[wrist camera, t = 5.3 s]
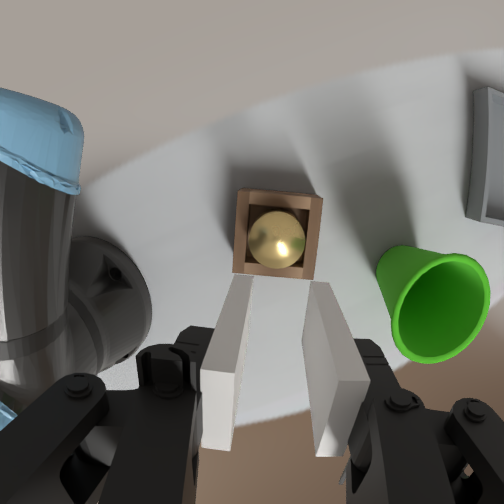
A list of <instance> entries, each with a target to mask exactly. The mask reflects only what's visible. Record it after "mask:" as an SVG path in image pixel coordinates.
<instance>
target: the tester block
mask: <svg viewBox="0 0 504 504" xmlns="http://www.w3.org/2000/svg"><path fill="white" fill-rule="evenodd" d="M322 204H323V198H321V197H319V196H318V195H314V194H304V193H294V192H284V191H273V190H261V189H249V188H242V189H240V190H238V193H237V208H236V222H235V238H234V253H233V269H232V273H241V274H252V275H263V276H274V277H285V278H297V279H308V280H313V278H314V270H315V263H316V255H317V247H318V239H319V231H320V222H321V214H322ZM275 208H276V209H284V210H287V211H289V212H290V213H292V214H293V215H294V216H295V217H296V218H297V219H298V221H299V223H300V225H301V227H302V229H303V231H304V235H305V247H304V251H303V253H302V255H301V256H300V258H299V259H298V260H297V261H296V262H295V263H293V264H292V265H290V266H288V267H285V268H279V269H274V268H269V267H266V266H264V265H262V264H260V263H259V262H258V261H257V260H256V259H255V258H254V257H253V255H252V253H251V251H250V248H249V234H250V231H251V228H252V226H253V223H254V221H255V220H256V218H257V217H258V216H259V215H260V214H261V213H263V212H265V211H267V210H269V209H275Z"/></svg>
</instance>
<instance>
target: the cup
mask: <svg viewBox="0 0 504 504" xmlns="http://www.w3.org/2000/svg"><path fill="white" fill-rule="evenodd" d="M376 277H377V281H378V284H379V287H380V290H381V292H382V295H383V298H384V301H385V303H386V306H387V309H388V312H389V315H390V318H391V331H392V337H393V340H394V342H395V345H396V347H397V348H398V349H399V351H400V352H401V353H402V355H404V356H405V357H407V358H408V359H410V360H412V361H416V362H419V363H437V362H441V361H445V360H447V359H449V358H451V357H453V356H455V355H457V354H458V353H459V352H461V351H462V350H463V349H465V348H466V347H467V346H468V345H469V344H470V343H471V342H472V341H473V339H474V338H475V337H476V335H477V334H478V332H479V331H480V329H481V328H482V326H483V324H484V321H485V319H486V317H487V313H488V309H489V305H490V286H489V281H488V278H487V276H486V274H485V271H484V269H483V268H482V267H481V265H480V264H479V263H478V262H477V261H476V260H474V259H473V258H471V257H469V256H467V255H463V254H457V253H452V254H441V253H436V252H432V251H428V250H423V249H419V248H414V247H410V246H404V245H401V246H395V247H393V248H391V249H389V250H388V251H386V252H385V253H384V254H383V256H382V257H381V259H380V260H379V262H378V265H377V269H376Z"/></svg>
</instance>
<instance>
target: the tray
mask: <svg viewBox="0 0 504 504" xmlns="http://www.w3.org/2000/svg"><path fill="white" fill-rule="evenodd" d="M473 99H474V124H473V151H472V165H471V177H470V187H469V195H468V203H467V211H466V217H467V218H470V219H473V220H476V221H479V222H483V223H488V224H493V225H498V226H503V227H504V93H502V92H500V91H497V90H495V89H493V88H490V87H485V88H481V89H478V90H475V91H473Z"/></svg>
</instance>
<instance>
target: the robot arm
mask: <svg viewBox="0 0 504 504" xmlns="http://www.w3.org/2000/svg"><path fill="white" fill-rule="evenodd" d="M83 143H84V132H83V127H82V125H81V123H80V121H79V119H78V118H77V117H76V116H75V115H74V114H73V113H71V112H70V111H68V110H67V109H64V108H63V107H60V106H58V105H55V104H53V103H50V102H47V101H44V100H41V99H38V98H35V97H32V96H29V95H25V94H22V93H19V92H15V91H11V90H7V89H4V88H0V504H97V503H98V504H195V501H196V488H197V477H198V465H199V452H198V449H199V445H200V442H201V439H202V447H203V448H211V449H217V450H225V451H230V449H231V443H232V437H233V431H234V424H235V418H236V412H237V406H238V400H239V394H240V388H241V381H242V375H243V369H244V363H245V356H246V350H247V344H248V337H249V327H250V315H251V302H252V290H253V278H254V276H247V275H236V274H235V275H234V278H233V280H232V283H231V286H230V289H229V291H228V294H227V297H226V300H225V302H224V305H223V308H222V311H221V313H220V316H219V319H218V321H217V324H216V327H215V329H213V328H205V327H197V326H189V327H188V328H186V329H185V330H183V331H182V332H180V334H179V336H178V337H177V339H176V342H175V343H174V345H173V344H157V345H152V346H148V347H146V348H144V349H142V350H141V351H140V352H139V353H138V354H137V355H136V363H137V372H138V379H139V388H138V389H134V390H106V387H105V384H104V382H103V381H102V380H101V378H99V377H97V374H98V373H100V372H102V371H104V370H106V369H108V368H110V367H112V366H113V365H115V364H118V363H121V362H123V361H125V360H126V359H128V358H129V357H131V356H132V355H133V354H134V353H135V352H136V351H137V349H138V348H139V347H140V345H141V344H142V343H143V341H144V340H145V338H146V336H147V334H148V332H149V329H150V326H151V320H152V305H151V299H150V295H149V292H148V289H147V286H146V284H145V281H144V279H143V277H142V275H141V274H140V272H139V271H138V269H137V268H136V266H135V265H134V264H133V262H132V261H131V260H130V259H129V258H128V257H127V256H126V255H125V254H124V253H123V252H122V251H121V250H119V249H118V248H117V247H115V246H114V245H112V244H110V243H108V242H106V241H104V240H101V239H98V238H94V237H87V236H83V237H75V238H72V239H71V233H72V224H73V215H74V208H75V200H76V195H78V194H80V189H81V187H80V184H79V173H80V165H81V157H82V150H83ZM302 346H303V354H304V361H305V369H306V377H307V385H308V393H309V401H310V409H311V417H312V425H313V435H314V444H315V454H316V457H317V456H319V457H322V456H323V457H324V456H325V457H326V456H327V457H330V456H343V454H344V452H345V450H346V447H347V445H349V450H350V454H351V456H350V458H349V460H348V463H347V465H346V467H345V469H344V471H343V474H342V476H341V478H340V481H339V484H343V483H344V480H345V479H346V504H504V422H503V420H501V418H500V417H499V416H498V415H497V414H496V413H495V411H494V410H493V409H492V408H491V407H490V406H488V405H487V404H486V403H484V402H482V401H480V400H478V399H473V398H463V399H460V400H458V401H456V402H455V404H454V405H453V407H452V409H451V411H450V412H444V411H437V410H430V409H426V408H425V406H424V404H423V402H422V401H421V399H420V398H419V397H418V396H417V395H415V394H414V393H412V392H411V391H408V390H406V389H402V388H401V387H400V385H399V383H398V382H397V379H396V377H395V375H394V373H393V371H392V369H391V367H390V365H388V364H389V363H388V362H387V360H386V358H385V356H384V354H383V352H382V350H381V348H380V347H379V346H378V345H377V344H375V343H374V342H373V341H372V340H371V339H353V337H352V334H351V332H350V329H349V327H348V325H347V322H346V320H345V318H344V316H343V313H342V311H341V309H340V306H339V304H338V302H337V299H336V297H335V295H334V293H333V290H332V288H331V286H330V284H329V283H327V282H315V281H311V282H310V289H309V296H308V303H307V310H306V316H305V323H304V329H303V335H302ZM468 464H469V465H470V466H471V468H472V469H473V471H474V472H473V473H472V474H471V475H470V476H467V475H466V474H465V473H464V469H465V468H466V467H467V465H468ZM98 501H99V502H98Z"/></svg>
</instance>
